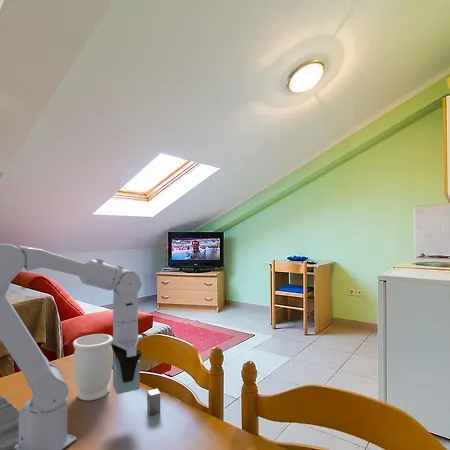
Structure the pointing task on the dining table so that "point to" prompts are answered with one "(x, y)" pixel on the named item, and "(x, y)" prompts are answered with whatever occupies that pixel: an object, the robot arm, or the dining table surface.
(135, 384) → the tall grey box
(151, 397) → the post
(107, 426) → the dining table surface
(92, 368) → the jar
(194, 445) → the dining table surface
